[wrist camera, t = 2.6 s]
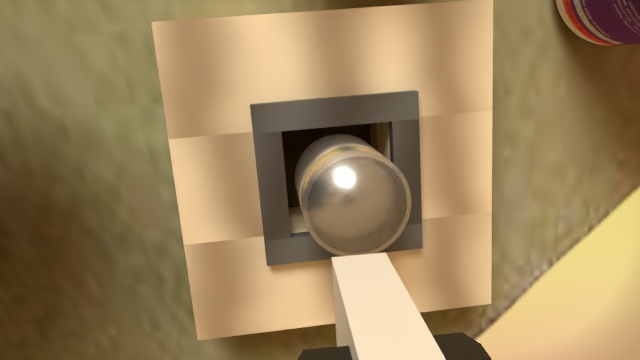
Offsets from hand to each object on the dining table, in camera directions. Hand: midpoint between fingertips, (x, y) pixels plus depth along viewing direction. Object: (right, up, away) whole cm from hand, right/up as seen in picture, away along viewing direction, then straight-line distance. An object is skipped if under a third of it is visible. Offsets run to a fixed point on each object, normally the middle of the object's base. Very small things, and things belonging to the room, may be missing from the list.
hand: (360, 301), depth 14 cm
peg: (0, +4, +15) cm, 15 cm away
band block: (-1, +5, +20) cm, 20 cm away
